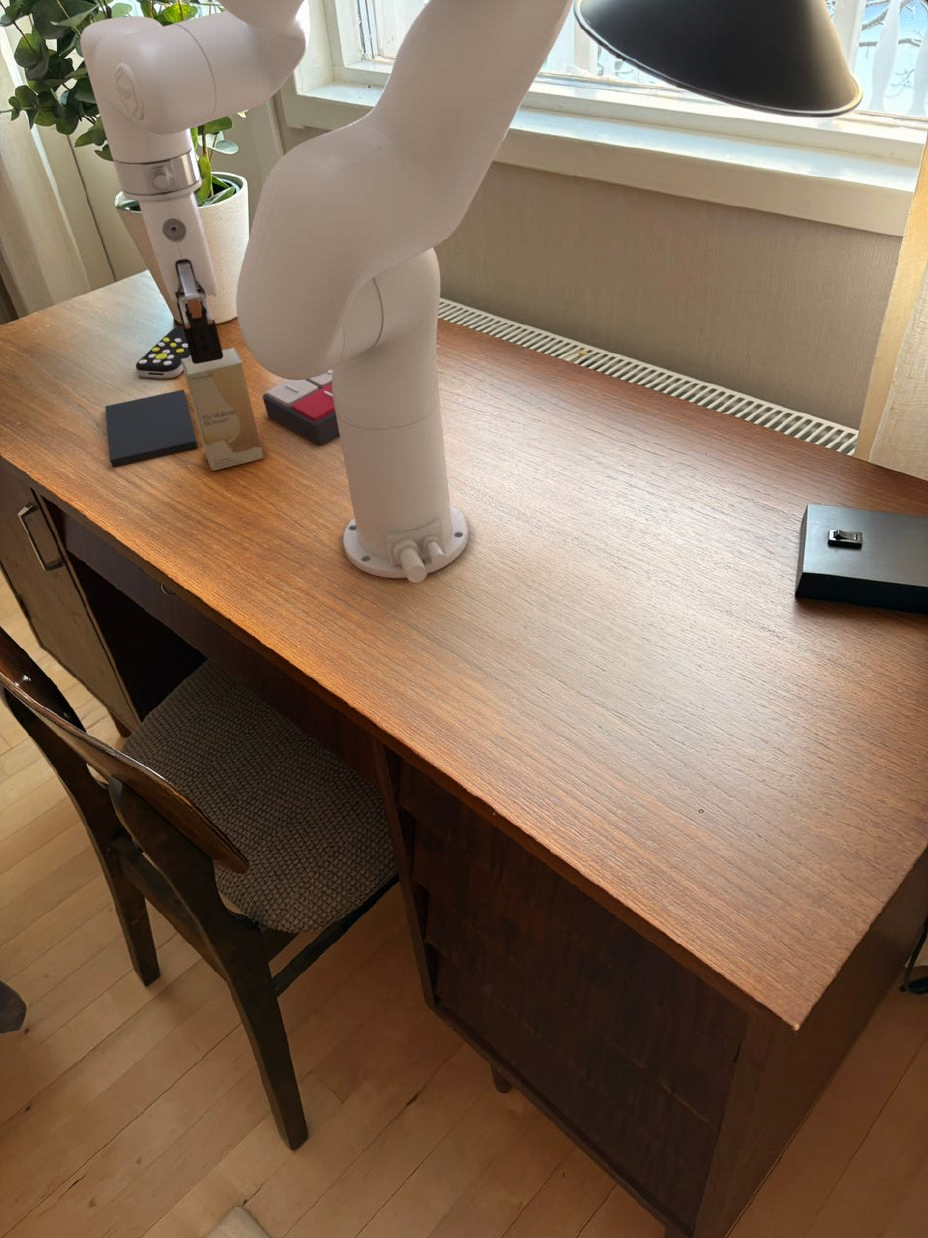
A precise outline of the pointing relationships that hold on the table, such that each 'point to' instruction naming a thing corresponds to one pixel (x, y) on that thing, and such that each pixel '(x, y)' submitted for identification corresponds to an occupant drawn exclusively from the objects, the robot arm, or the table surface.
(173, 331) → the remote control
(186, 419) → the desk pad
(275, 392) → the calculator
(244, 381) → the cosmetic box
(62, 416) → the table surface
